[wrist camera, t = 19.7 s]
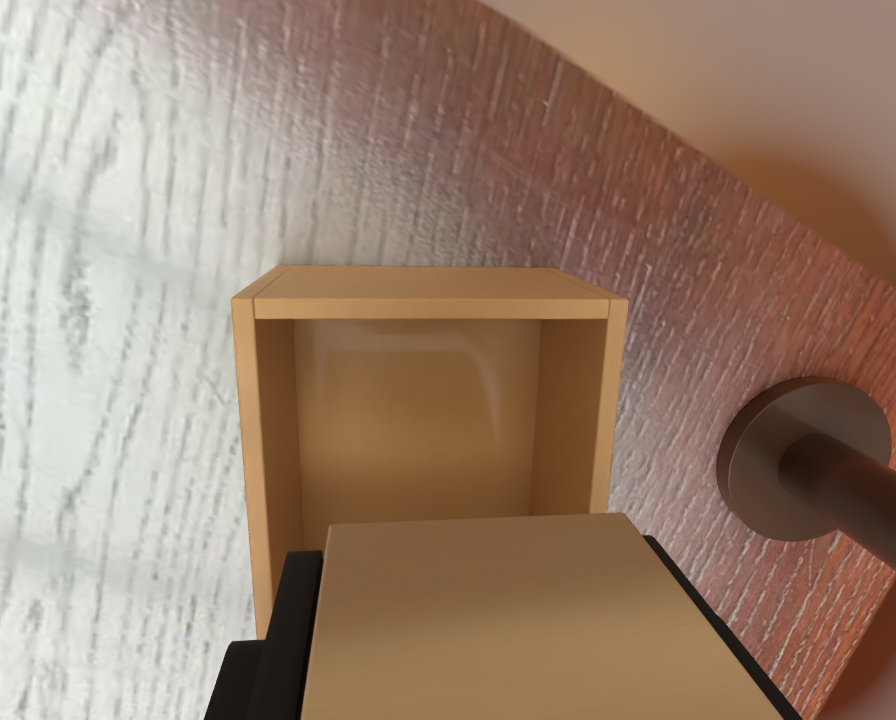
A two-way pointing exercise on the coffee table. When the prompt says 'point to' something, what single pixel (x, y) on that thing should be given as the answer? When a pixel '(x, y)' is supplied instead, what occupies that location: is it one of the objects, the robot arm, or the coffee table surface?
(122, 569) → the coffee table surface
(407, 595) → the block
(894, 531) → the stand
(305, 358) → the carton
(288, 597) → the robot arm
